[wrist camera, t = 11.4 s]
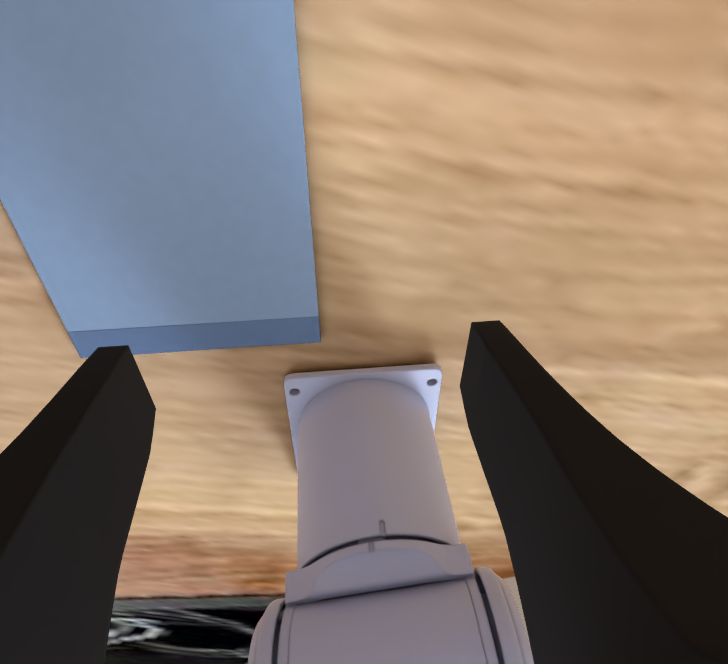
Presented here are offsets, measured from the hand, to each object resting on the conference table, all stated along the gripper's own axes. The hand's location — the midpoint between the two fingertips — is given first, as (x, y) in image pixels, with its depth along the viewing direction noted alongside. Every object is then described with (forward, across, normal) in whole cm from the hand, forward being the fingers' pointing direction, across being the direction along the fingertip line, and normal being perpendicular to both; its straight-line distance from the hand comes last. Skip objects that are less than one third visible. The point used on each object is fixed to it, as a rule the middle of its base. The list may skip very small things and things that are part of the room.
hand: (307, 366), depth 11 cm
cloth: (+10, +5, -1) cm, 12 cm away
